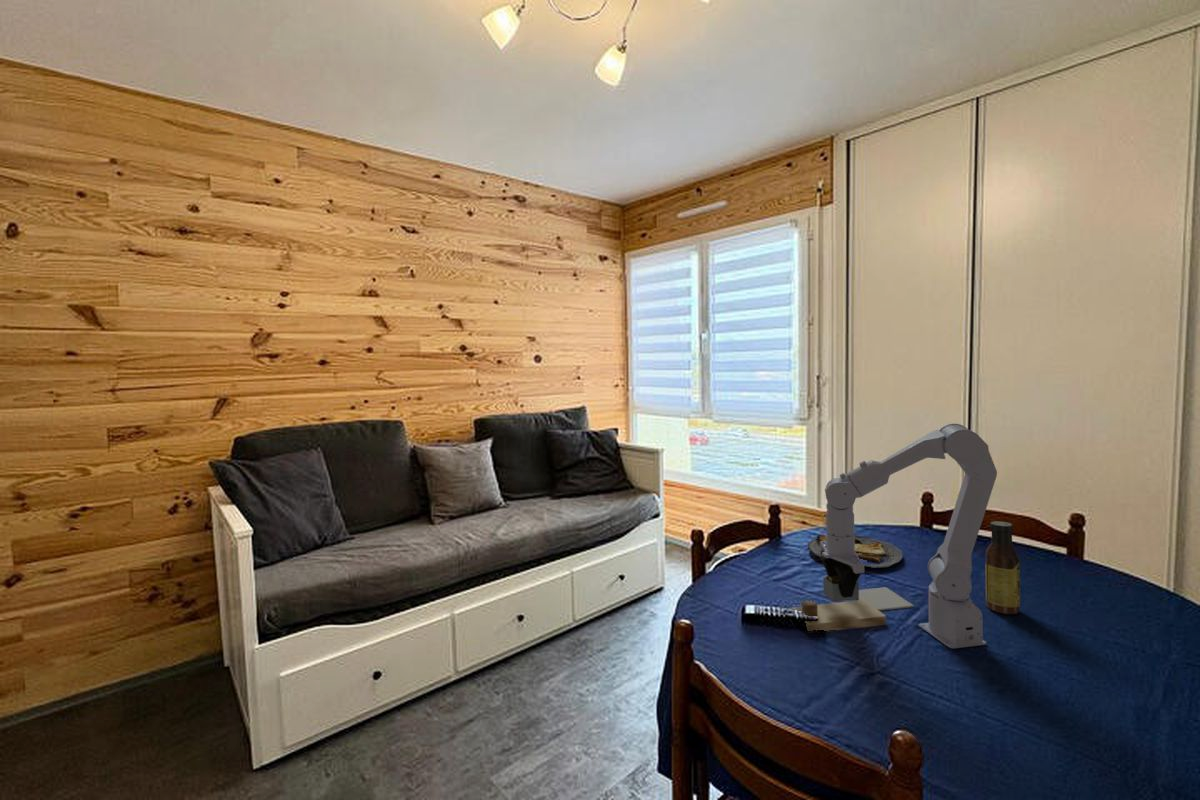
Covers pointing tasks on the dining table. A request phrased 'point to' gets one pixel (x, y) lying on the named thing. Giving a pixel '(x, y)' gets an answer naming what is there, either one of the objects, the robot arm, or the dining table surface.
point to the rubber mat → (883, 599)
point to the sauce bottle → (1002, 570)
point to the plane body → (841, 615)
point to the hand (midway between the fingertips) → (841, 591)
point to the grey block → (837, 589)
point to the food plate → (865, 550)
